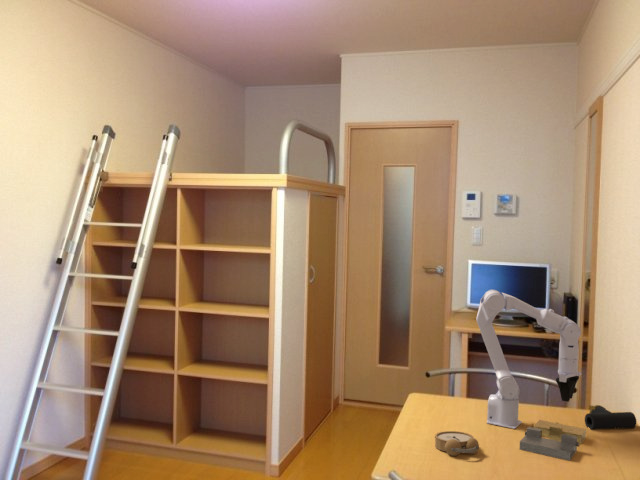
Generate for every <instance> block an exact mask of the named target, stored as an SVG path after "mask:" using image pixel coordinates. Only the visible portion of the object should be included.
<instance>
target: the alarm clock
mask: <svg viewBox="0 0 640 480" xmlns="http://www.w3.org/2000/svg"><path fill="white" fill-rule="evenodd" d="M434 442H435V443H434V444H435V445H434V447H435V448H436V449H438V450H439V451H443V452H446V454H447V455H449V456H452V457H456V456H459V455H460V454H461V453H462V454H463V453H464V454H465V453H466V454H468V455H476V454H477V453H478V452H479V448H480V444H479V441H478V440H477V439H476V438H475V437H474V435H472V434H470V433H468V432H464V431H456V430H455V431H452V430H450V431H449V430H448V431H447V430H446V431H440V432H437V433H435V435H434Z"/></svg>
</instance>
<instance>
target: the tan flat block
mask: <svg viewBox="0 0 640 480" xmlns="http://www.w3.org/2000/svg"><path fill="white" fill-rule="evenodd" d="M533 428H537V429H542V437H543V438H547V439H550V440H555V441H560V442H561V435H562V434H567V435H571V436H576V437H577V442H579V445H582V444H583V442H584V441H585V440H586V438H587V437H586V436H587V429H586V428H583V427H578V426H574V425H568V424H563V423H557V422H553V421H548V420H543V419H539V420H537V421H536V423H535V424H534V425H533Z"/></svg>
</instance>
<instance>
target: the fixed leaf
mask: <svg viewBox="0 0 640 480" xmlns="http://www.w3.org/2000/svg"><path fill="white" fill-rule="evenodd" d="M579 445H580V444H579V442H577V437H576V436H571V435H567V434H562V435H561V442H560V441H555V440H550V439H549V438H547V437H543V436H542V429H537V428H534V427H532V426H531V427H530V426H527V428H526V430H525V431H524V437H522V438H521V440H519V450H522V451H524V452H525V451H526V452H528V453H529V452H530V453H534V454H538V455H542V456H547V457H552V458H555V459H560V460H565V461H569V462H570V461H571V460H572V458H573V457H574V455H575V454H576V453H577V450H578V447H579Z"/></svg>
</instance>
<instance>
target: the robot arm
mask: <svg viewBox="0 0 640 480" xmlns="http://www.w3.org/2000/svg"><path fill="white" fill-rule="evenodd" d="M503 309H504V310H505V311H510V310H516V311H517V312H520V313H522V314H524V315H527V316H528V317H531V318H533V319H534V320H536V322H537V323H536V324H537V325H538V326H540V327H541V328H545V329H547V330H549V331H551V332H553V333H555V334H559V343H558V344H559V346H558V347H559V348H558V368H557V374H558V375H559V376H558V377H556V378H555V382H556V384H557V386H558V389H559V393H560V398H561V401H562V402H567V403H568V402H570V399H573V395H574V392H575V388H576V385H577V382H578V381H579V379H580V376H582V372H581V371H578V367H579V366H578V363H579V338H580V337H581V335H582V331H581V328H580V326H579V325H578V324H577V323H576V322H575V321H573V320H572V319H570V318H569V317H567V316H562V315H560V314H558V313H556V312H555V310H554V309H552V308H549V309H547V308H544V309H538V308H537V307H534V306H533V305H532V304H531V305H530V304H529V303H527V302H525V301H523V300H521V299H519V298H517V297H515V296H512V295H510V294H507V293H505V292H500V291H498V290H496V289H489V290H487V291H485V293H484V294H483V296H482V297H481V298H480V301H479V306H478V310H477V314H476V318H475V319H476V320H475V321H476V323H477V326H478V328H479V332H480V334H481V337H482V340H483V343H484V345H485V347H486V351H487V353H488V356H489V359H490V362H491V363H492V366H493V370H494V373H495V376H496V384H495V385H496V386H497V388H498V390H497V392H496V393H495V394H489V397H488V400H487V417H486V424H488V425H489V424H490V425H495V426H499V427H504V428H510V429H514V430H516V429H517V427H519V426H520V425H521V424H522V423H523V421H522V420H519V407H520V406H519V405H520V401H519V398H520V396H519V394H520V386H519V384H518V383H517V381H516V378H515V377H514V376H513V374H512V373H511V371H510V368H509V366H508V363H507V360H506V357H505V356H504V353H503V349H502V347H501V344H500V341H499V339H498V336H497V333H496V330H495V328H494V325H493V322H494V320H495V319H496V316H497V315H498V314H499V313H500V312H502V311H503Z"/></svg>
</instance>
